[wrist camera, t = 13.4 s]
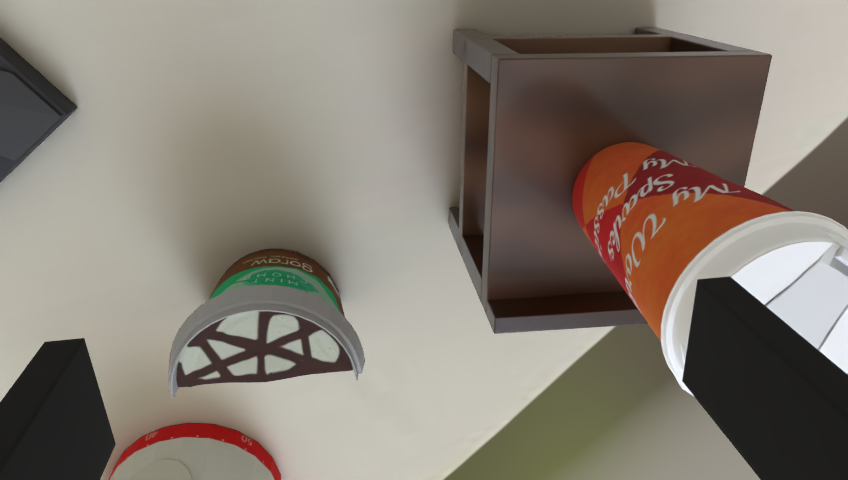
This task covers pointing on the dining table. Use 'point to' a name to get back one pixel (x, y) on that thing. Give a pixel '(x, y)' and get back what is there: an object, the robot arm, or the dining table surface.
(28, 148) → the picture frame
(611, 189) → the paper cup
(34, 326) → the dining table surface
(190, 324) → the food container
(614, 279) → the rack
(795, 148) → the dining table surface
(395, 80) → the dining table surface
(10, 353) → the dining table surface
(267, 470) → the kitchen timer
